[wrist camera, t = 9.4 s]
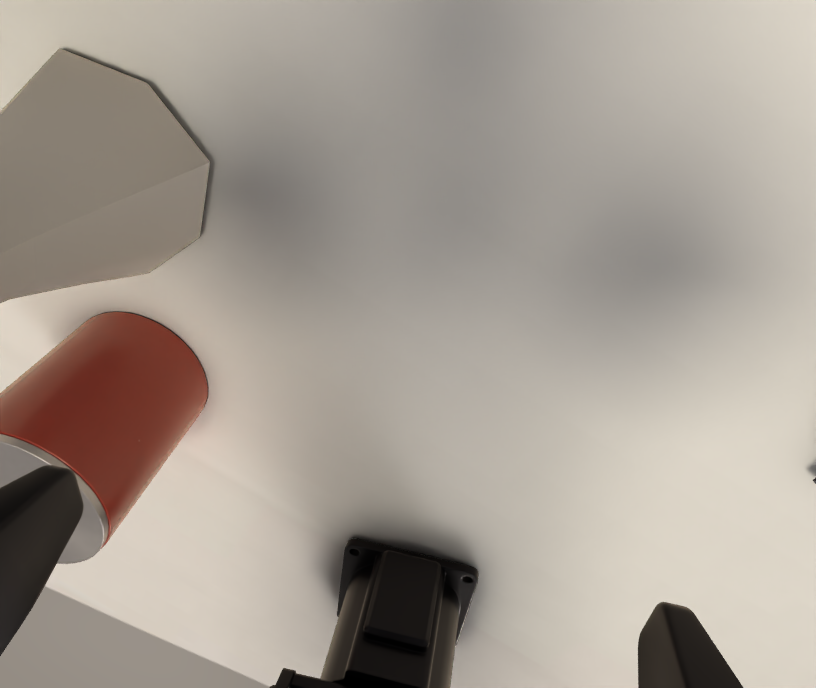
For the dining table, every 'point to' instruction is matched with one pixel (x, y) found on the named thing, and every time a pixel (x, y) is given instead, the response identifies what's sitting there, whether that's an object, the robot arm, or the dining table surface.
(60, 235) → the flask
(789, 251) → the dining table surface
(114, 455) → the tin can
